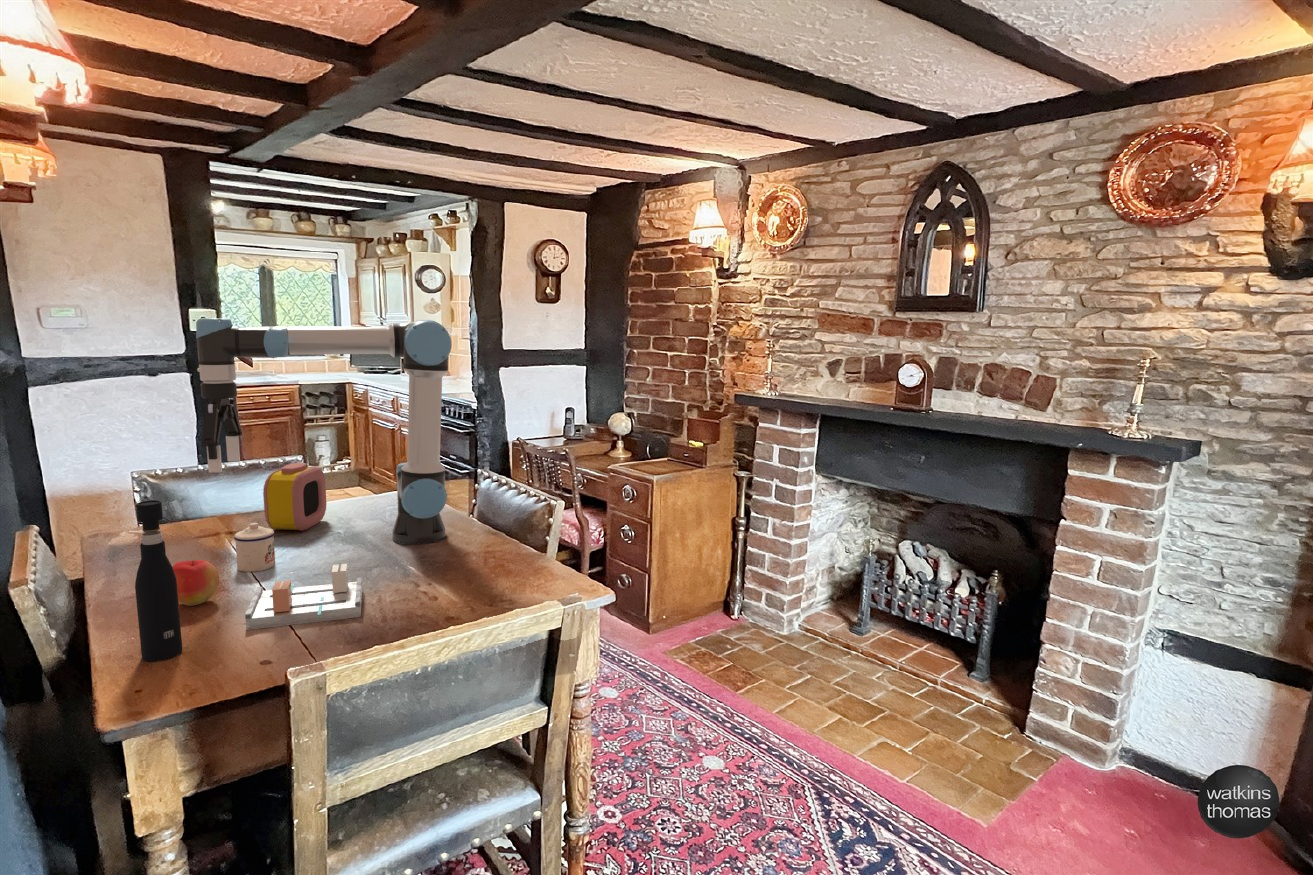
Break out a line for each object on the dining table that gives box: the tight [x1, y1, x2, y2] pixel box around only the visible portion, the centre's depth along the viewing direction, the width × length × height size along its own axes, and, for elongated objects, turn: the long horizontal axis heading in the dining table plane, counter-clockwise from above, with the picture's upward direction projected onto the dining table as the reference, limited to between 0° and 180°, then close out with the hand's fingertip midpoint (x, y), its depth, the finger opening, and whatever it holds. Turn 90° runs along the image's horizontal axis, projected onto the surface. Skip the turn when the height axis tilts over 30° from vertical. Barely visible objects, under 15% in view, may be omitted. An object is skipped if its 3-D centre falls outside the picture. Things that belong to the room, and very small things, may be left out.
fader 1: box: [271, 579, 292, 612], centre depth 151 cm, size 3×5×5 cm, turn 21°
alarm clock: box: [262, 462, 327, 532], centre depth 216 cm, size 18×11×19 cm, turn 179°
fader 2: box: [331, 563, 349, 593], centre depth 162 cm, size 3×5×5 cm, turn 21°
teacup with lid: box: [233, 522, 276, 573], centre depth 183 cm, size 12×9×12 cm
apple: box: [172, 559, 220, 607], centre depth 157 cm, size 10×10×10 cm
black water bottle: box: [134, 499, 183, 663], centre depth 132 cm, size 6×6×30 cm
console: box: [244, 577, 363, 631], centre depth 157 cm, size 22×20×3 cm
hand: (225, 466), depth 175 cm, fingers open, 13 cm apart
